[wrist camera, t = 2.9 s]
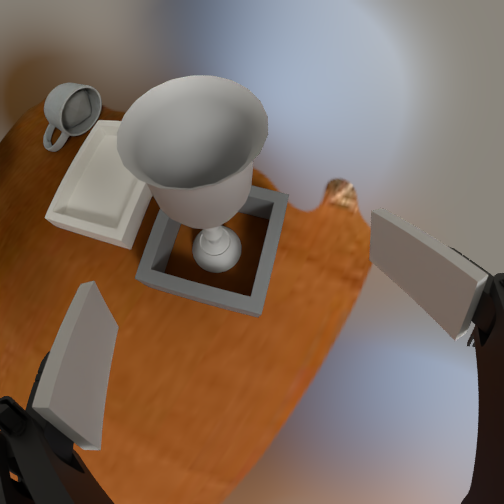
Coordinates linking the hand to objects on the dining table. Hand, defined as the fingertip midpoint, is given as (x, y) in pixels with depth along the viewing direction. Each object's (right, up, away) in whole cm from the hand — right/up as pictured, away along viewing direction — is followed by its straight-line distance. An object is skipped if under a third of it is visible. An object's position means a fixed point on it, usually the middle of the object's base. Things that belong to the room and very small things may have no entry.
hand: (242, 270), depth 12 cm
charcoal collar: (-3, +1, +16) cm, 16 cm away
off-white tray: (-16, +9, +18) cm, 26 cm away
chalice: (-3, +1, +16) cm, 17 cm away
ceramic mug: (-27, +20, +21) cm, 40 cm away
